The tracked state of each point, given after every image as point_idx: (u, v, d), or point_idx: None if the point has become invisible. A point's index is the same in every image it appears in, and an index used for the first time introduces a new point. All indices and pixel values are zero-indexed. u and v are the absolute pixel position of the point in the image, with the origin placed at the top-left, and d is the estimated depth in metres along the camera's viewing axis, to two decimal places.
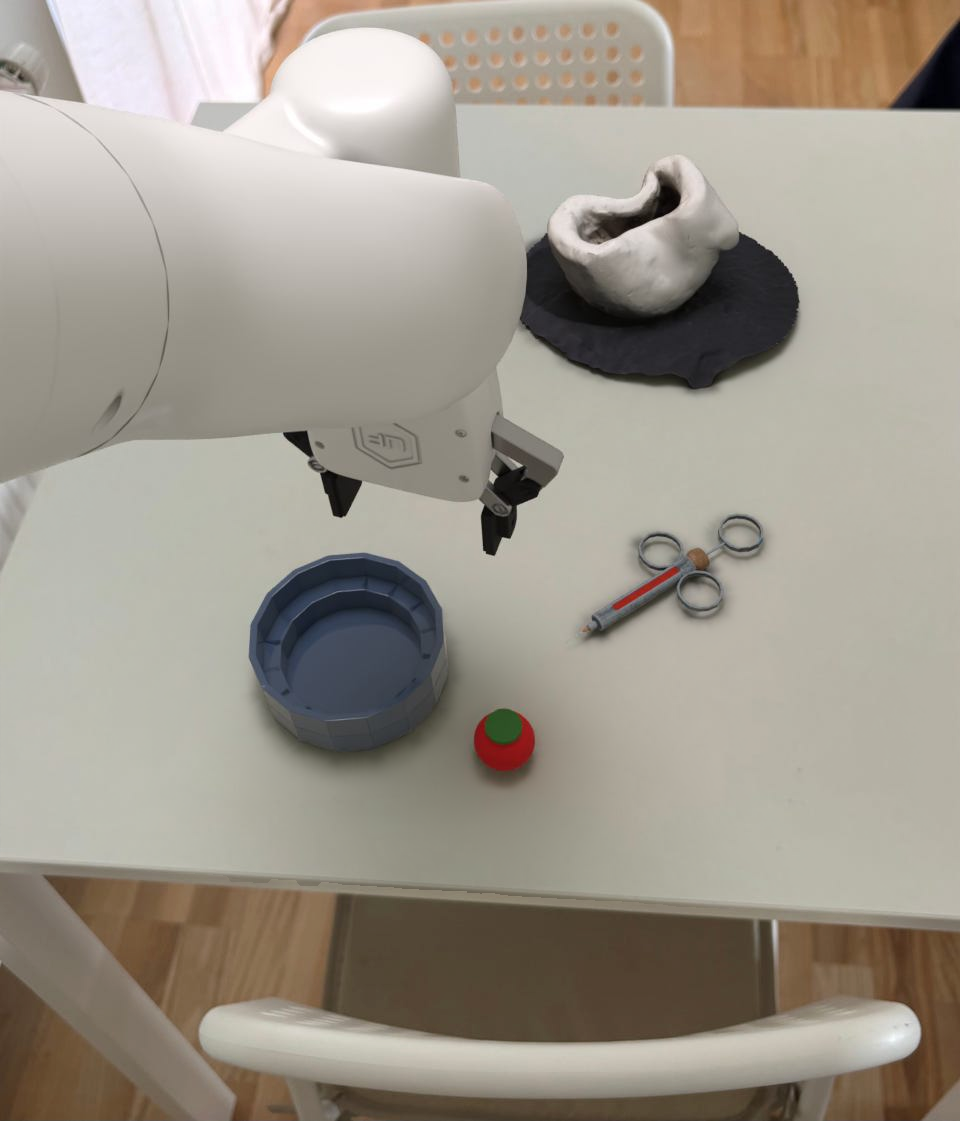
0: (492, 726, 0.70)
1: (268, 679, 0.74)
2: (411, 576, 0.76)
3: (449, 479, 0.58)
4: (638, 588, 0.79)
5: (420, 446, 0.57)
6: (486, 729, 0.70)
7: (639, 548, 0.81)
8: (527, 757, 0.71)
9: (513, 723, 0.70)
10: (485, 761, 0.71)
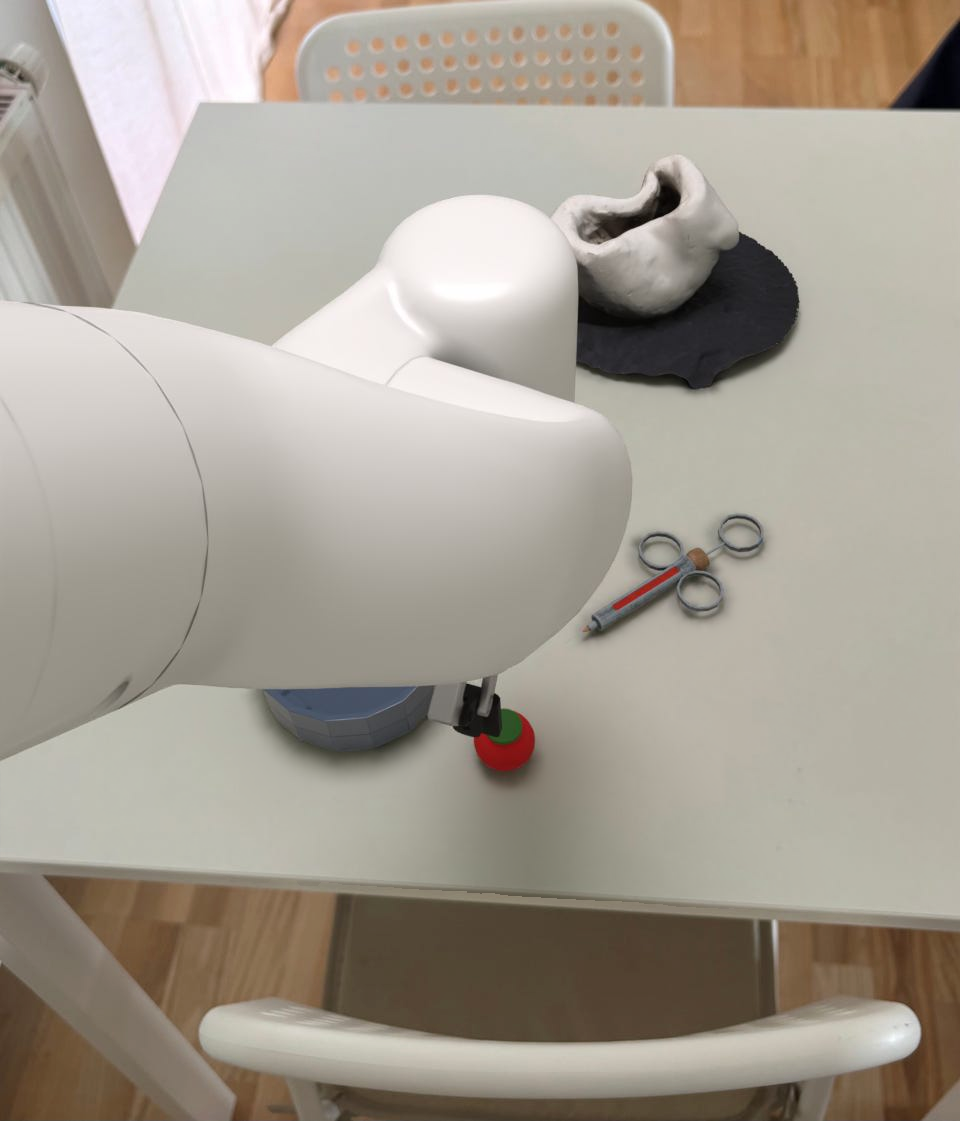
0: None
1: None
2: None
3: None
4: (638, 588, 0.79)
5: None
6: None
7: (639, 548, 0.81)
8: (527, 757, 0.71)
9: (513, 723, 0.70)
10: (485, 761, 0.71)
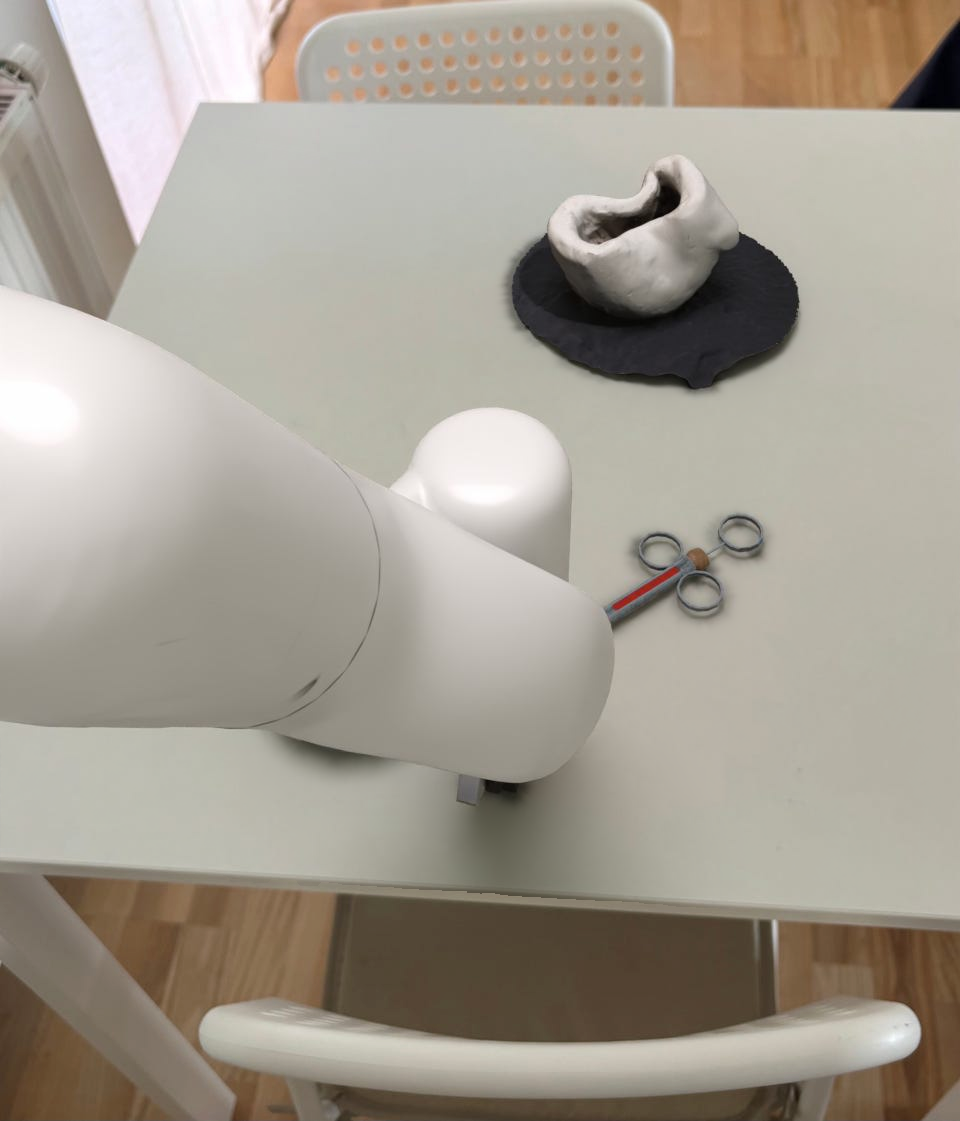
0: None
1: None
2: None
3: None
4: (638, 588, 0.79)
5: None
6: None
7: (639, 548, 0.81)
8: None
9: None
10: None
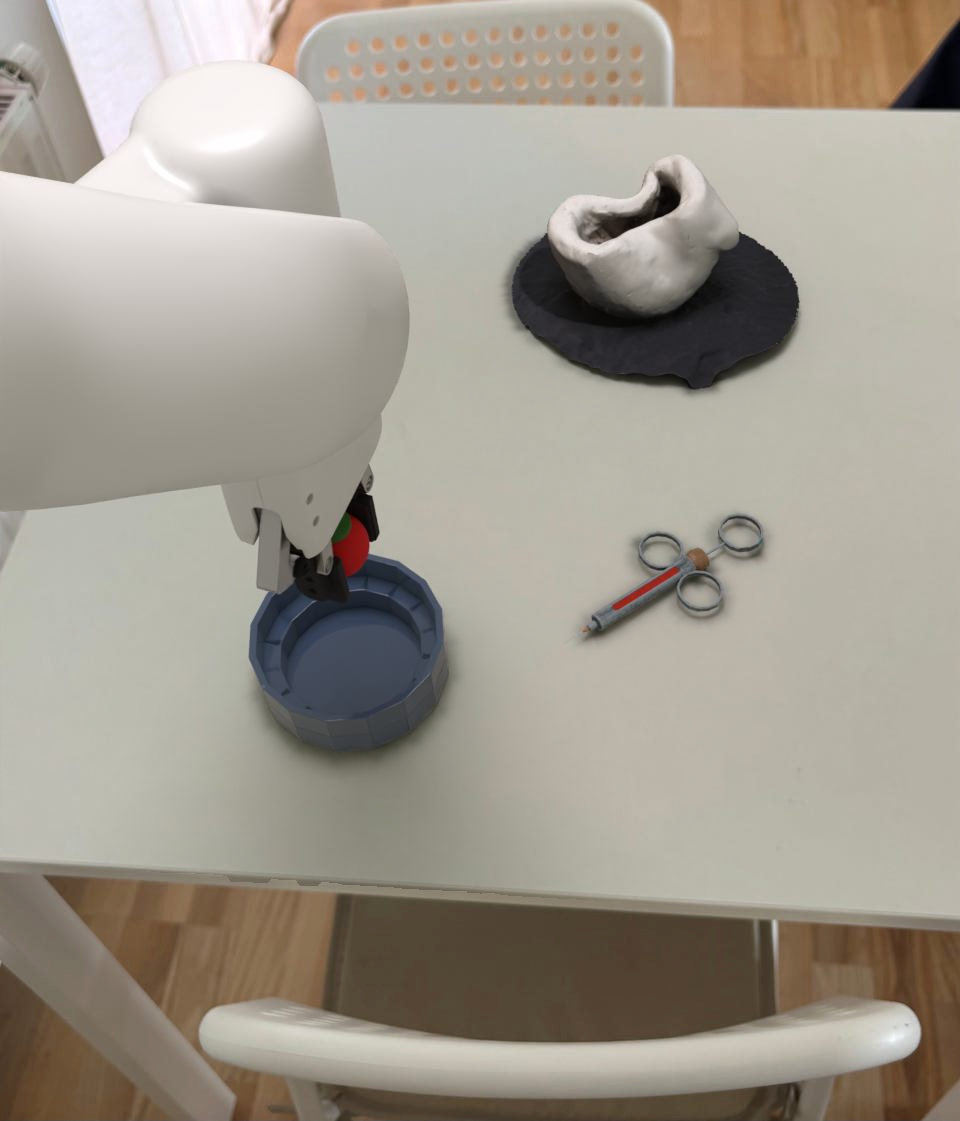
0: None
1: (268, 679, 0.74)
2: (411, 576, 0.76)
3: None
4: (638, 588, 0.79)
5: None
6: None
7: (639, 548, 0.81)
8: (358, 561, 0.64)
9: (340, 521, 0.63)
10: None
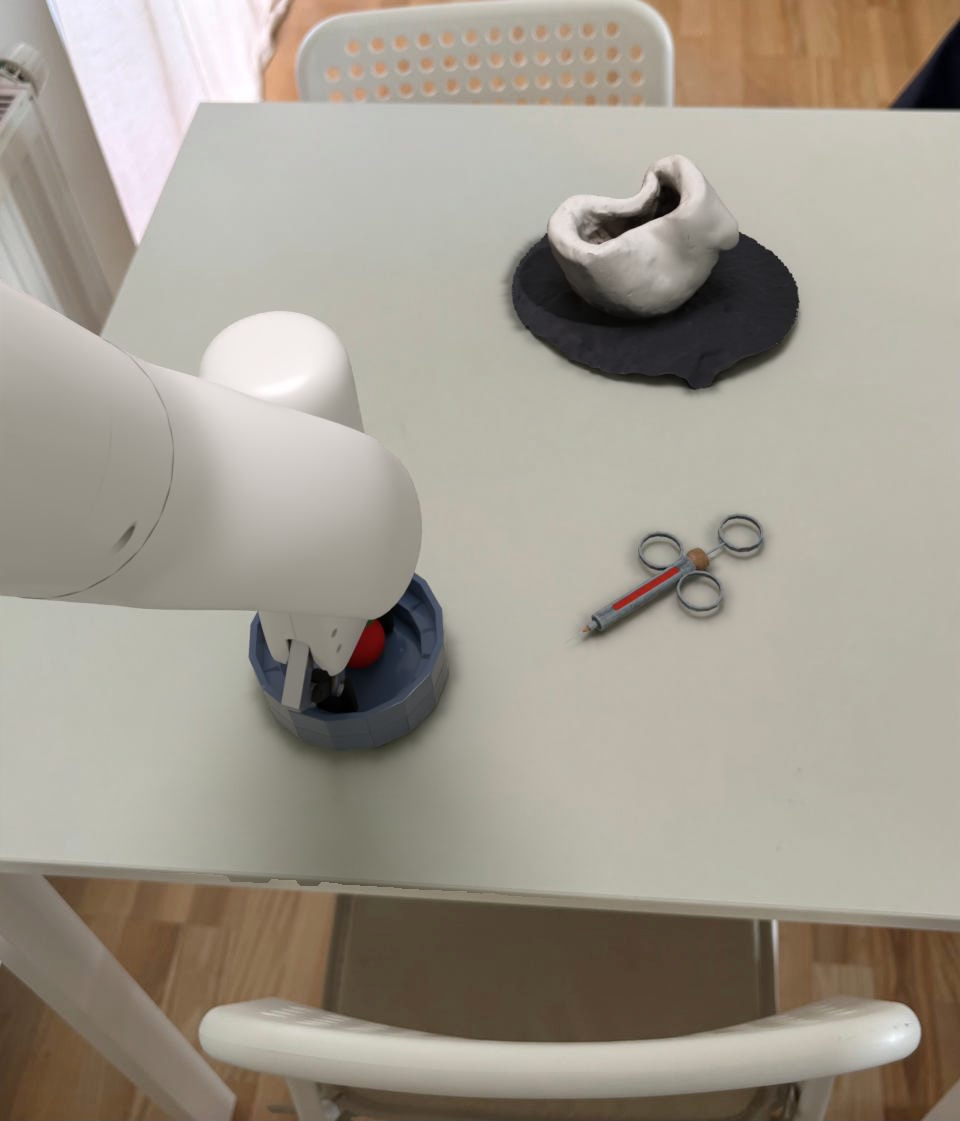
0: None
1: (268, 679, 0.74)
2: None
3: None
4: (638, 588, 0.79)
5: None
6: None
7: (639, 548, 0.81)
8: (376, 650, 0.75)
9: None
10: None
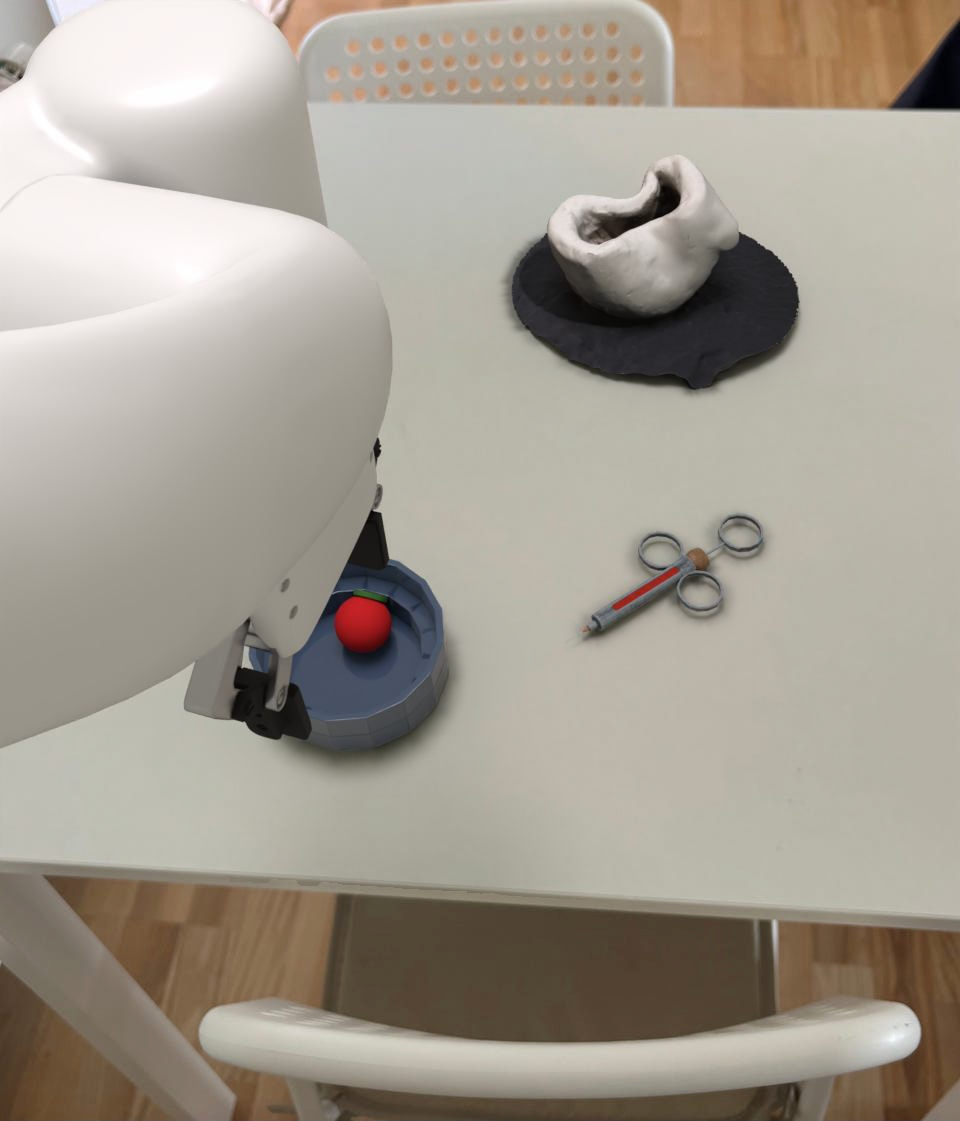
0: None
1: None
2: (411, 576, 0.76)
3: None
4: (638, 588, 0.79)
5: None
6: (356, 589, 0.77)
7: (639, 548, 0.81)
8: (384, 626, 0.76)
9: None
10: (345, 617, 0.75)
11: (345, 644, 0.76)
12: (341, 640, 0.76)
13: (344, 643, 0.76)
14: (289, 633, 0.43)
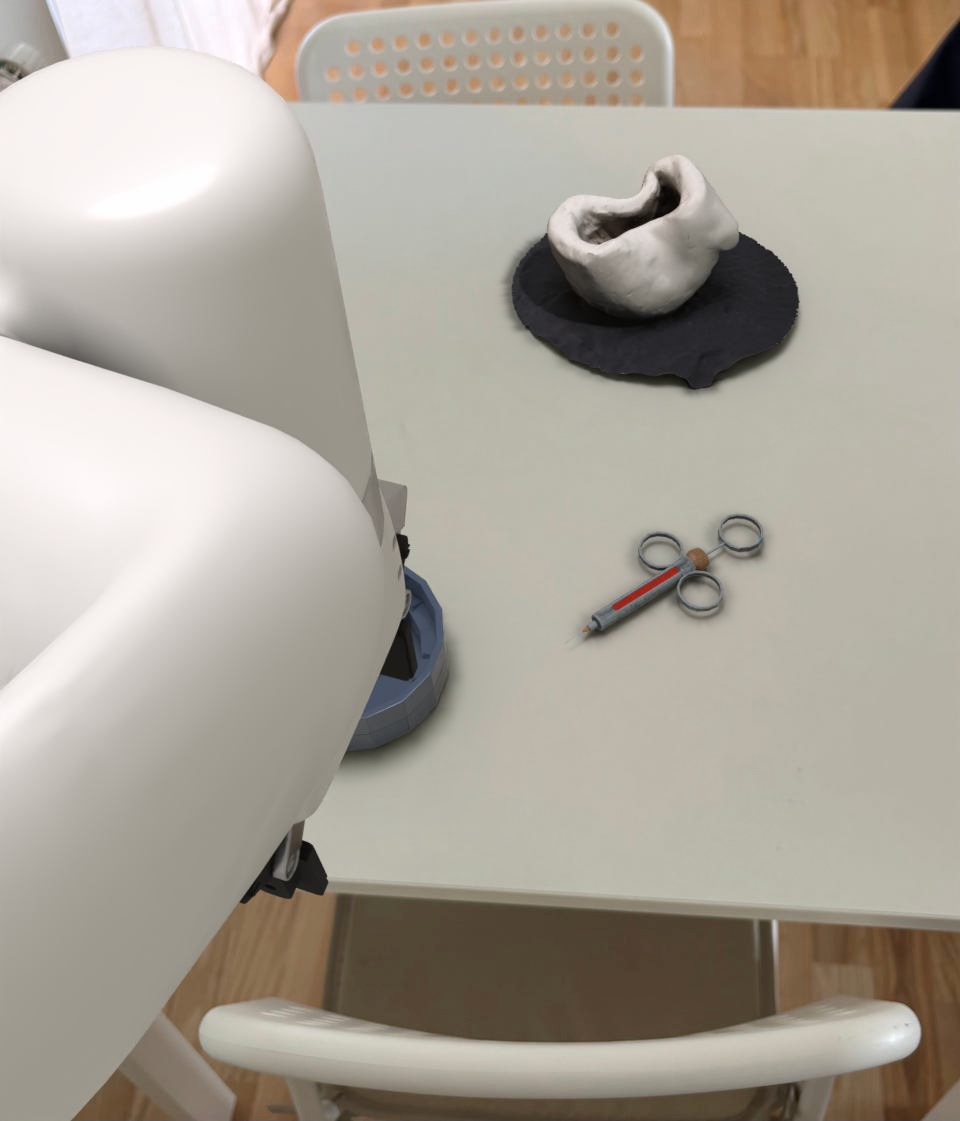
0: None
1: None
2: (411, 576, 0.76)
3: None
4: (638, 588, 0.79)
5: None
6: None
7: (639, 548, 0.81)
8: None
9: None
10: None
11: None
12: None
13: None
14: None
